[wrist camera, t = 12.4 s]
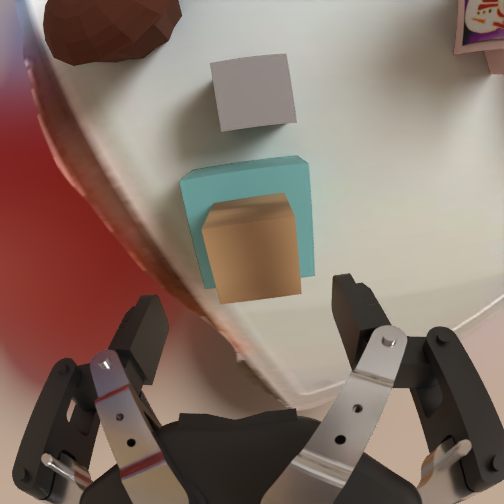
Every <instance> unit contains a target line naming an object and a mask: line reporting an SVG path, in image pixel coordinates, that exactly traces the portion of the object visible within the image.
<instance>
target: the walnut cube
mask: <svg viewBox="0 0 504 504" xmlns="http://www.w3.org/2000/svg"><path fill="white" fill-rule="evenodd" d="M202 234H203V238H204V242H205V246H206V250H207V254H208V258H209V262H210V266H211V270H212V273H213V277H214V281H215V285H216V288H217V292H218V296H219V299H220V303H221V304H226V303H235V302H243V301H251V300H259V299H267V298H275V297H282V296H289V295H296V294H301V280H300V267H299V255H298V243H297V233H296V222H295V215H294V213H293V211H292V208H291V206H290V204H289V202H288V200H287V197H286V195H285V193H277V194H270V195H263V196H256V197H249V198H242V199H236V200H230V201H224V202H218V203H213V206H212V208H211V210H210V212H209V214H208V216H207V219H206V221H205V223H204V225H203V227H202Z"/></svg>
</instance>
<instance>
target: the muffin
mask: <svg viewBox="0 0 504 504" xmlns="http://www.w3.org/2000/svg"><path fill="white" fill-rule="evenodd" d="M181 17H182V13H181V9H180V5H179V1H178V0H48V1H47V3H46V5H45V12H44V22H43V27H44V34H45V41H46V43H47V45H48V47H49V49H50V51H51V53H52V55H53V57H54V58H56V59H58V60H61V61H63V62H66V63H68V64H71V65H73V66H76V65H81V64H86V63H92V62H120V61H124V60H128V59H141V58H144V57H145V56H146V55H148V54H149V53H150V52H151V51H152V50H154V49H155V48H156V47H158V46H160V45H161V44H163V43H165V42H167V41H168V40H169V39H170V36H171V34H172V31H173V29H174V27H175V25H176V24H177V22H178V21H179V19H180V18H181Z"/></svg>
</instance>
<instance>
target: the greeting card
mask: <svg viewBox="0 0 504 504" xmlns="http://www.w3.org/2000/svg"><path fill="white" fill-rule="evenodd" d="M476 51H484V54H485V57H486V60H487V63H488V66H489V70H490V73H491V74H504V0H458V15H457V28H456V38H455V47H454V54H453V55H457V54H463V53H469V52H476Z"/></svg>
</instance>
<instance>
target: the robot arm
mask: <svg viewBox="0 0 504 504" xmlns="http://www.w3.org/2000/svg"><path fill="white" fill-rule="evenodd" d="M332 313H333V316H334V319H335V322H336V325H337V328H338V330H339V333H340V336H341V339H342V342H343V345H344V348H345V351H346V354H347V357H348V360H349V363H350V366H351V369H352V371H351V373H350V374H349V376H348V378H347V380H346V382H345V383H344V385H343V387H342V389H341V390H340V392H339V394H338V396H337V397H336V399H335V401H334V403H333V404H332V406H331V408H330V409H329V411H328V412H327V414H326V416H325V417H324V419H323V420H322V422H321V421H318V420H316V419H312V418H309V417H303V416H297V413H296V408H295V409H287V410H277V411H267V412H263V413H260V414H257V415H253V416H249V417H245V418H242V419H237V420H232V419H228V418H223V417H218V416H214V415H209V414H188V413H180V415H179V421H175V422H172V423H169V424H167V425H164V426H162V425H161V424H160V422H159V420H158V419H157V417H156V415H155V413H154V412H153V410H152V408H151V407H150V404H149V402H148V401H147V399H146V397H145V395H144V393H143V391H142V390H141V389H142V386H143V385H152V384H153V380H154V377H155V374H156V370H157V367H158V364H159V360H160V357H161V354H162V350H163V347H164V344H165V341H166V338H167V334H168V331H169V324H168V320H167V317H166V314H165V312H164V309H163V307H162V304H161V302H160V299H159V297H158V296H157V295H144V296H141V297H140V298H139V301H138V302H137V304H136V306H134V307H132V308H131V309H130V310H129V311H128V312H127V313H126V314H125V316H124V318H123V320H122V323H121V324H120V326H119V329H118V330H117V332H116V334H115V336H114V338H113V340H112V342H111V344H110V346H109V348H108V349H107V350H103V351H100V352H98V353H97V354H96V355H95V356H94V357H93V358H92V359H91V362H90V363H89V364H84V365H79V366H77V365H76V363H75V362H74V361H73V360H72V359H70V358H64V359H61V360H60V361H58V362H57V363H56V364H55V365H54V367H53V369H52V371H51V372H50V374H49V377H48V379H47V381H46V383H45V385H44V387H43V389H42V392H41V394H40V396H39V398H38V400H37V403H36V405H35V407H34V410H33V412H32V415H31V417H30V420H29V422H28V425H27V428H26V430H25V433H24V436H23V439H22V441H21V444H20V447H19V451H18V454H17V457H16V460H15V463H14V467H13V471H12V477H13V481H14V483H15V485H16V486H17V487H18V488H19V489H21V490H22V491H24V492H26V493H27V494H29V495H31V496H33V497H34V498H35V499H38V500H39V501H42V502H43V503H46V504H456V503H459V502H461V501H463V500H466V499H468V498H470V497H472V496H474V495H476V494H478V493H480V492H482V491H484V490H486V489H488V488H490V487H492V486H494V485H496V484H497V483H499V482H501V481H502V480H504V429H503V426H502V424H501V421H500V419H499V417H498V414H497V412H496V410H495V407H494V405H493V403H492V401H491V398H490V396H489V394H488V392H487V390H486V388H485V386H484V384H483V382H482V380H481V378H480V376H479V374H478V372H477V370H476V369H475V367H474V365H473V363H472V361H471V359H470V358H469V356H468V354H467V352H466V351H465V349H464V347H463V345H462V344H461V342H460V340H459V339H458V337H457V335H456V334H455V333H454V332H453V331H452V330H450V329H449V328H446V327H434V328H432V329H431V330H430V331H429V332H428V334H427V336H426V337H409V336H406V334H405V333H404V331H402V330H401V329H400V328H398V327H395V326H392V325H391V323H390V322H389V320H388V318H387V316H386V314H385V313H384V311H383V309H382V308H381V306H380V304H379V303H378V301H377V299H376V298H375V296H374V294H373V292H372V291H371V289H370V288H369V287H367V286H366V285H365V284H363V283H357V284H356V283H355V281H354V279H353V277H352V276H351V274H350V273H348V274H341V275H334V276H333V282H332ZM353 370H354V371H353ZM392 388H409V389H410V392H411V394H412V397H413V400H414V403H415V406H416V409H417V412H418V415H419V418H420V421H421V424H422V428H423V431H424V434H425V438H426V441H427V445H428V449H429V452H430V454H429V455H428V456H427V457H426V458H425V460H424V461H423V463H422V467H421V480H420V483H419V485H418V486H417V488H416V487H415V486H414V485H413V484H411V483H410V482H409V481H407V480H405V479H404V478H402V477H401V476H399V475H397V474H396V473H394V472H392V471H391V470H389V469H388V468H387V467H385V466H384V465H382V464H381V463H379V462H378V461H376V460H375V459H373V458H372V457H370V456H369V455H368V454H366V453H365V452H364V450H365V448H366V446H367V444H368V442H369V440H370V438H371V436H372V434H373V432H374V430H375V428H376V425H377V423H378V421H379V419H380V417H381V414H382V412H383V410H384V407H385V405H386V403H387V400H388V398H389V395H390V393H391V390H392ZM71 399H72V400H73V401H74V402H75V403H76V405H75V408H74V410H73V413H72V416H71V419H70V422H68V420H67V416H66V414H67V410H68V407H69V405H70V402H71ZM100 421H101V424H102V427H103V429H104V432H105V435H106V438H107V440H108V443H109V445H110V448H111V450H112V452H113V455H114V457H115V460H116V461H117V464H116V465H114V466H113V467H112V468H110V469H109V470H108V471H107V472H106V473H104V474H103V475H102V476H101V477H99V478H98V479H97V480H95V481H94V482H93V481H92V480H91V476H90V473H89V471H88V469H89V465H90V460H91V456H92V452H93V447H94V443H95V439H96V436H97V432H98V428H99V425H100Z"/></svg>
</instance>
